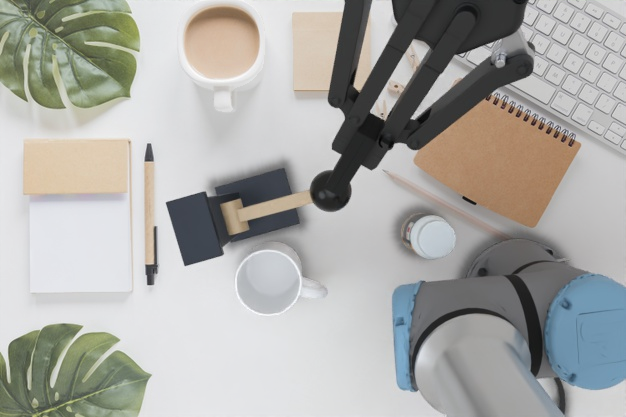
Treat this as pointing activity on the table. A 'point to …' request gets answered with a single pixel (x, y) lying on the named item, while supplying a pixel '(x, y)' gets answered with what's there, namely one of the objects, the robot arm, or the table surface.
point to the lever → (285, 204)
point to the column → (200, 226)
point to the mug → (273, 280)
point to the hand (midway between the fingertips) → (337, 182)
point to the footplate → (258, 192)
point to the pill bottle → (428, 235)
